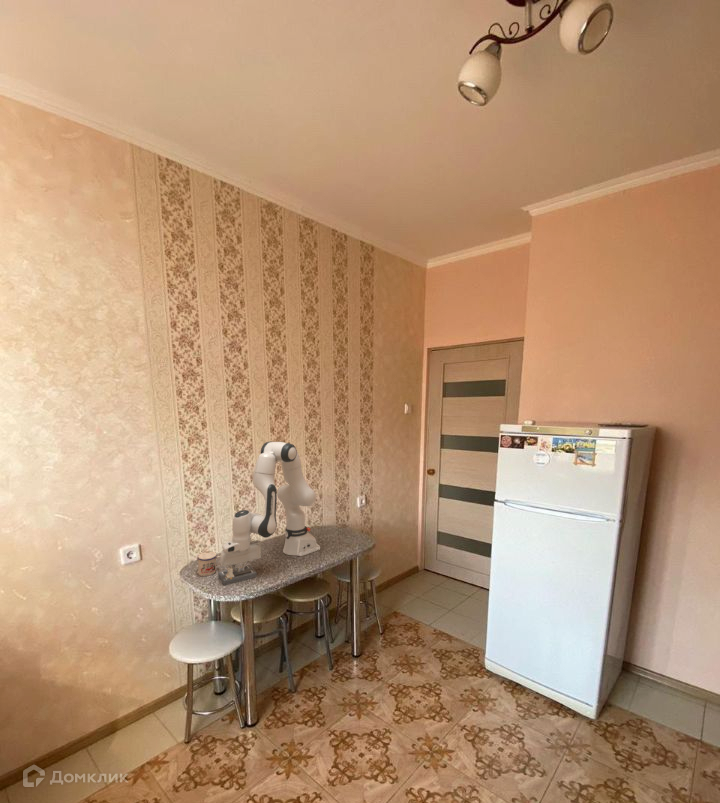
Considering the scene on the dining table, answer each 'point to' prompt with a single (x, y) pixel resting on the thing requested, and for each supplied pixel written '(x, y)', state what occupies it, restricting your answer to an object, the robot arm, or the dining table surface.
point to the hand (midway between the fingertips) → (240, 570)
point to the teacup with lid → (207, 563)
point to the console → (237, 575)
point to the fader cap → (229, 572)
